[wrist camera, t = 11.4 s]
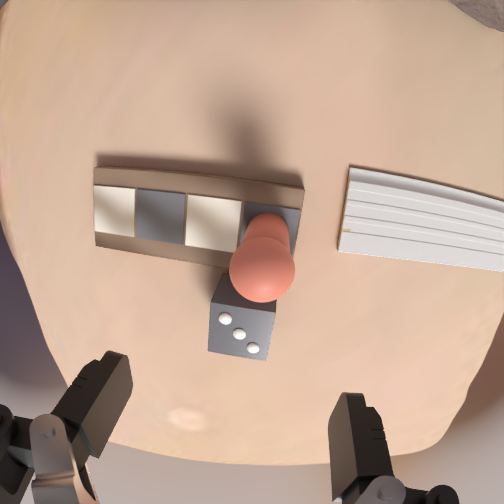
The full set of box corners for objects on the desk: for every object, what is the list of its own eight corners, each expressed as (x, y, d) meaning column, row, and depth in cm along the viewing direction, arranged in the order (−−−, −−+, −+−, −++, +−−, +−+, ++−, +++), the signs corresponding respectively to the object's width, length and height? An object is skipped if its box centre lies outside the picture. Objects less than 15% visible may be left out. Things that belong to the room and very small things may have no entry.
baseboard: (350, 152, 28) (335, 246, 32) (356, 154, 25) (339, 257, 29) (545, 204, 26) (526, 271, 30) (557, 210, 23) (537, 280, 27)
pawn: (246, 205, 29) (227, 245, 19) (295, 213, 28) (301, 257, 19) (241, 251, 30) (220, 309, 21) (287, 258, 30) (288, 319, 20)
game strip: (100, 166, 30) (92, 168, 29) (303, 187, 29) (305, 190, 28) (102, 241, 34) (94, 246, 32) (289, 271, 33) (289, 278, 31)
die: (222, 273, 33) (210, 303, 28) (277, 282, 33) (275, 313, 27) (218, 319, 36) (207, 351, 30) (269, 327, 35) (265, 361, 30)
